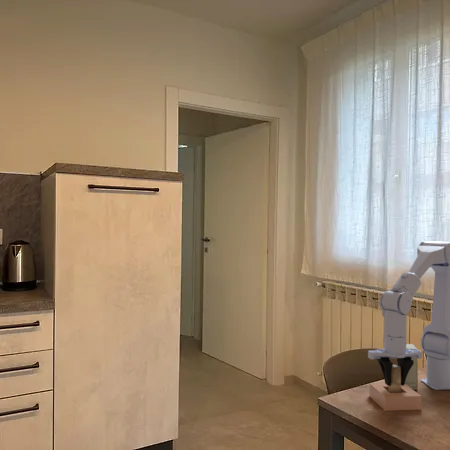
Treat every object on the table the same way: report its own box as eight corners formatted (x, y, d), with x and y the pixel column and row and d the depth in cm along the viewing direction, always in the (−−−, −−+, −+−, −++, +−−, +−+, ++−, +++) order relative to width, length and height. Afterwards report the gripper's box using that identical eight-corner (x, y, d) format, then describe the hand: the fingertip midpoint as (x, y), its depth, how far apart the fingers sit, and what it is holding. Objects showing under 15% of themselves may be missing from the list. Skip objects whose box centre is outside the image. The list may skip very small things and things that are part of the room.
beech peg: (397, 393, 125) (397, 364, 125) (402, 397, 122) (403, 368, 122) (386, 393, 125) (386, 364, 125) (391, 397, 121) (391, 368, 121)
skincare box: (418, 390, 132) (418, 349, 132) (402, 389, 133) (402, 348, 133) (413, 383, 139) (413, 343, 139) (398, 381, 140) (398, 342, 139)
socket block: (403, 395, 129) (403, 382, 129) (421, 409, 119) (421, 396, 119) (369, 396, 128) (369, 383, 128) (384, 410, 118) (385, 397, 118)
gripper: (375, 339, 119) (375, 390, 119) (428, 338, 120) (427, 389, 120) (365, 332, 126) (364, 381, 126) (414, 332, 127) (414, 379, 127)
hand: (394, 384), depth 123 cm, fingers open, 3 cm apart
